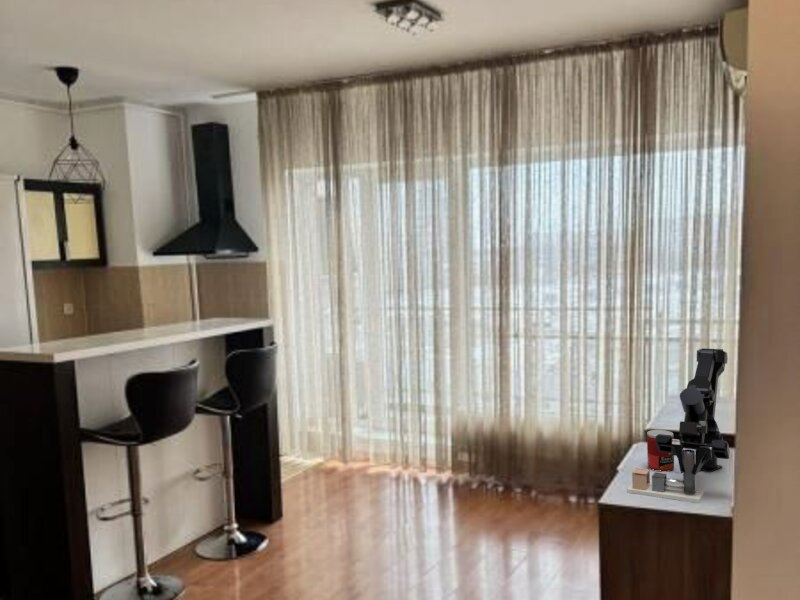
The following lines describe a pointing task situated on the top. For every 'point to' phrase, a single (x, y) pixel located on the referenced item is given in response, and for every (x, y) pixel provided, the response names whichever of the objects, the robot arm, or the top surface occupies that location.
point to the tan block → (641, 479)
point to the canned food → (658, 452)
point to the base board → (669, 493)
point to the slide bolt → (685, 474)
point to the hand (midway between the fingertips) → (688, 473)
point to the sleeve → (658, 482)
